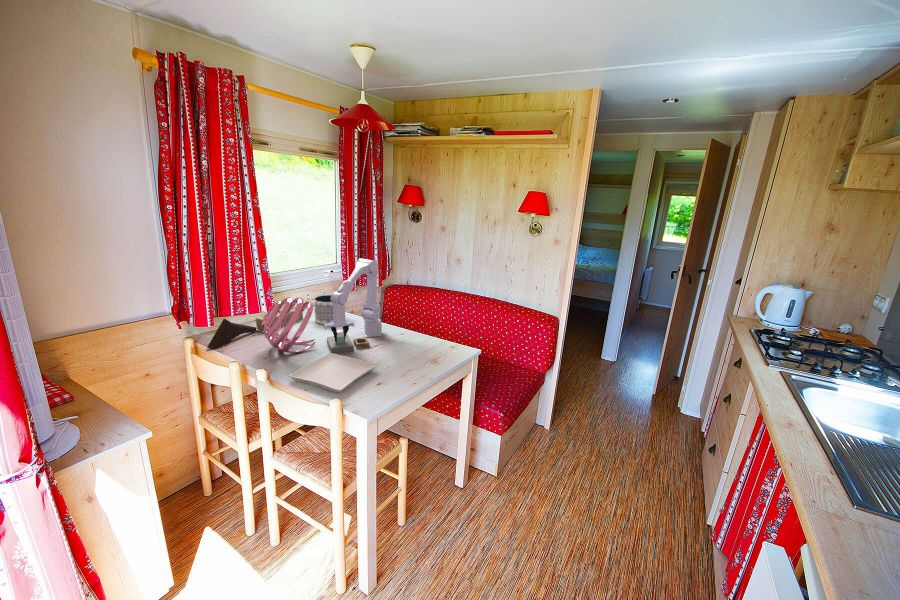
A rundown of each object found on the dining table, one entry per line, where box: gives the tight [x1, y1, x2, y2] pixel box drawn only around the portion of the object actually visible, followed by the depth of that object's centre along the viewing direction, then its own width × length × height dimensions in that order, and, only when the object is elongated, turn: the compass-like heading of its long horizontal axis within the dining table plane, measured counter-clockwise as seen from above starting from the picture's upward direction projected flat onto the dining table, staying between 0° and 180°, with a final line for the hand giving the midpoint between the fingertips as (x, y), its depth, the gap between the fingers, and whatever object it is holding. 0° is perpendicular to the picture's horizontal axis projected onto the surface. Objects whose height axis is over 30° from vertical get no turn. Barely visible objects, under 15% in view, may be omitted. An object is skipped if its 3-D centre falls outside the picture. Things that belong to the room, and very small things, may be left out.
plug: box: [336, 329, 344, 344], centre depth 197 cm, size 4×4×8 cm
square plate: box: [287, 352, 377, 393], centre depth 168 cm, size 27×27×4 cm
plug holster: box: [352, 337, 370, 349], centre depth 203 cm, size 7×8×2 cm
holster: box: [207, 318, 257, 349], centre depth 200 cm, size 5×16×25 cm
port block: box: [326, 334, 355, 355], centre depth 198 cm, size 11×16×4 cm
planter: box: [313, 294, 334, 325], centre depth 236 cm, size 16×16×14 cm
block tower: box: [255, 304, 304, 332], centre depth 226 cm, size 8×8×29 cm
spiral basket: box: [262, 296, 316, 354], centre depth 191 cm, size 28×28×27 cm
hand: (339, 340), depth 198 cm, fingers closed on plug, 3 cm apart
